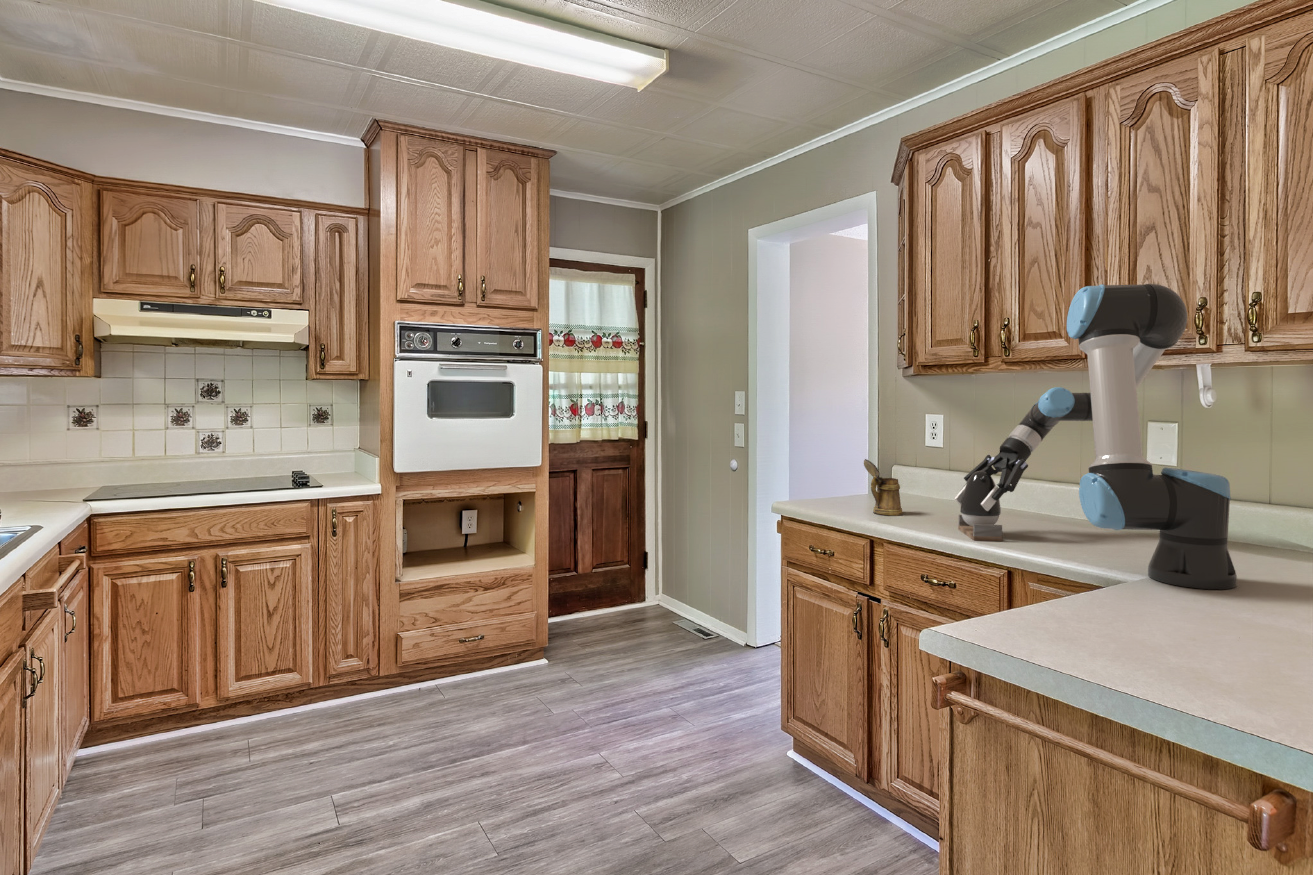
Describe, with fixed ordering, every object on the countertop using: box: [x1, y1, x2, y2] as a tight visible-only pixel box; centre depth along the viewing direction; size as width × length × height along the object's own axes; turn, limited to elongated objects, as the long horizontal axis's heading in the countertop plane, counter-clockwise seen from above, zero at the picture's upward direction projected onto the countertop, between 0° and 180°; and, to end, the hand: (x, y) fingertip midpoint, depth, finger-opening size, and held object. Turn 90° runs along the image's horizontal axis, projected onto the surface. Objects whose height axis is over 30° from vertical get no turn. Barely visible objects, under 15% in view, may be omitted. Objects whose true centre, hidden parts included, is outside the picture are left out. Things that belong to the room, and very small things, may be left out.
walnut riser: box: [957, 514, 1003, 542], centre depth 206 cm, size 16×7×4 cm, turn 172°
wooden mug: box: [863, 458, 904, 517], centre depth 240 cm, size 9×14×18 cm, turn 109°
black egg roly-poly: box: [959, 471, 1002, 526], centre depth 205 cm, size 10×10×15 cm
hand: (970, 504), depth 205 cm, fingers closed on black egg roly-poly, 10 cm apart
